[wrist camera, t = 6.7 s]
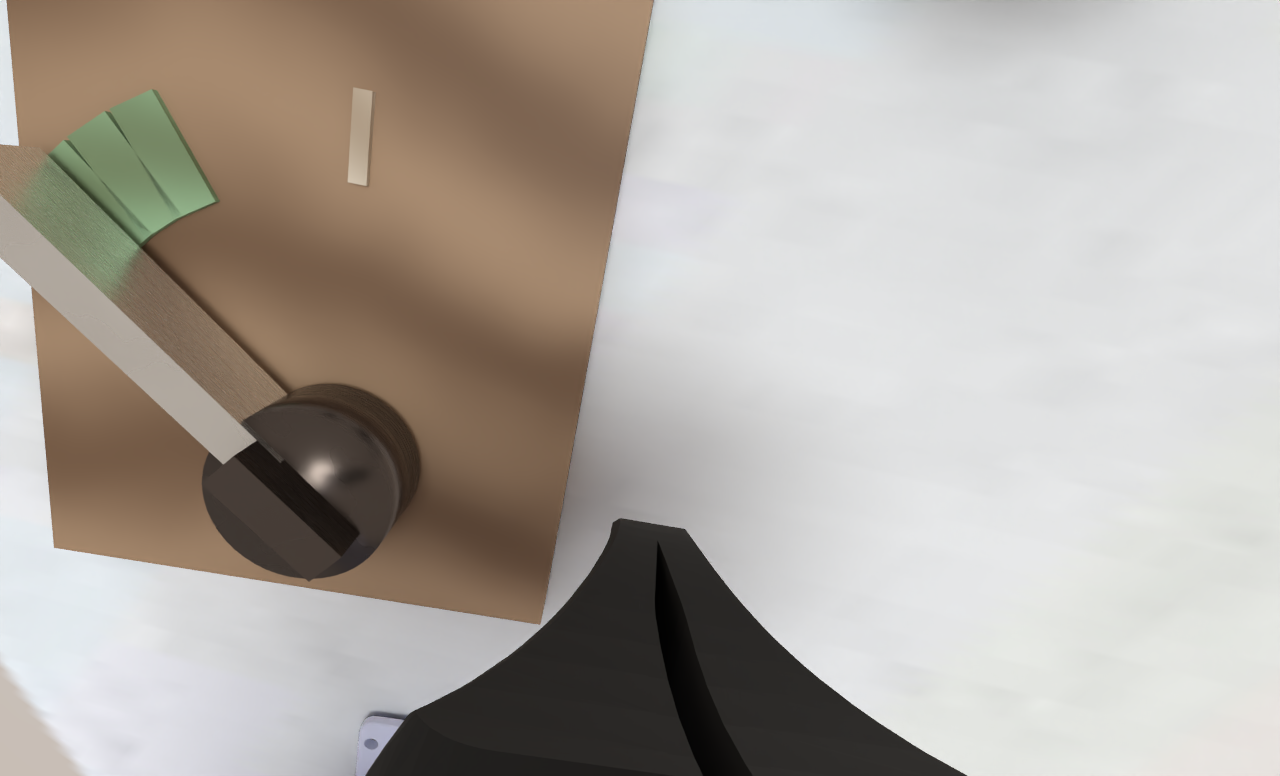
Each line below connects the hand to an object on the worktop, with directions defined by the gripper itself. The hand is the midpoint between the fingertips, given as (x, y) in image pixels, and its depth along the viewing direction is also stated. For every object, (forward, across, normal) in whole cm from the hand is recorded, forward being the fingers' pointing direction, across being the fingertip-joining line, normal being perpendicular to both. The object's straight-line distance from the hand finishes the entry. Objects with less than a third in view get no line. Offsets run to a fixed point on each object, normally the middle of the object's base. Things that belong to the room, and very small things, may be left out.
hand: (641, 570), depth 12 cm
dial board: (+9, +10, -2) cm, 14 cm away
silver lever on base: (+8, +12, 0) cm, 14 cm away
